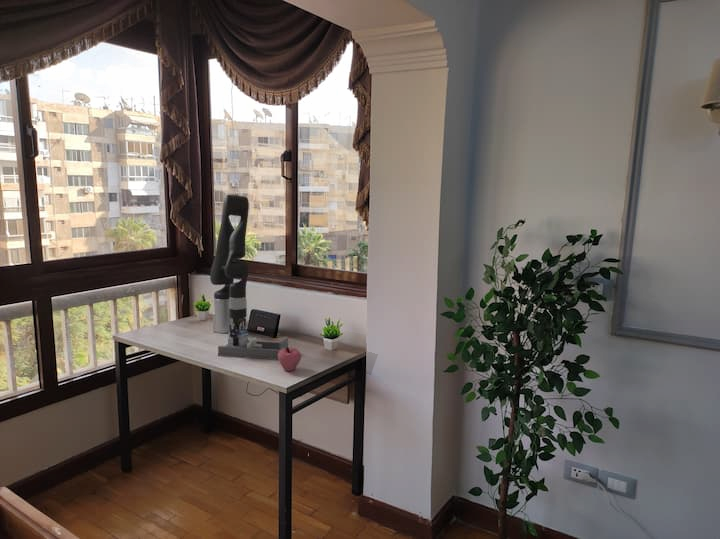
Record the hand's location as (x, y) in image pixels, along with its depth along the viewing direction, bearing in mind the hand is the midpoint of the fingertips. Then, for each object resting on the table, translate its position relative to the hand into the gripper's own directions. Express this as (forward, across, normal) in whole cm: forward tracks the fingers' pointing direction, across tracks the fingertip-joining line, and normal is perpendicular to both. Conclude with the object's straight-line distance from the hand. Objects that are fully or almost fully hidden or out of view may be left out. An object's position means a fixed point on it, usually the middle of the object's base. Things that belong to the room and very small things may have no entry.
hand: (238, 343), depth 235 cm
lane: (+4, 0, +7) cm, 8 cm away
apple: (+4, +18, +28) cm, 34 cm away
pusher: (+3, 0, +8) cm, 9 cm away
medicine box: (+3, 0, 0) cm, 3 cm away
